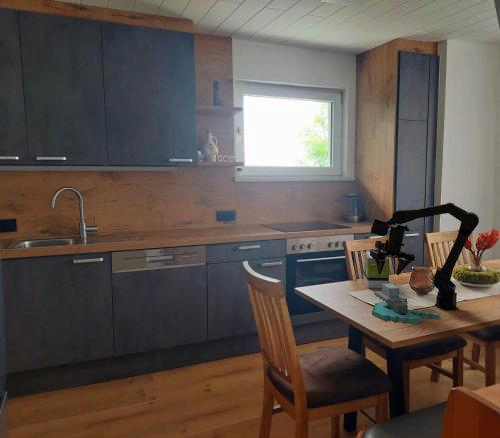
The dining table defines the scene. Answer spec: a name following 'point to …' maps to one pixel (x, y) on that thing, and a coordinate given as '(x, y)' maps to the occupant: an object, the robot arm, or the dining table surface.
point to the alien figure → (412, 316)
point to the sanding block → (389, 292)
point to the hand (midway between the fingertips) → (388, 274)
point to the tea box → (375, 272)
